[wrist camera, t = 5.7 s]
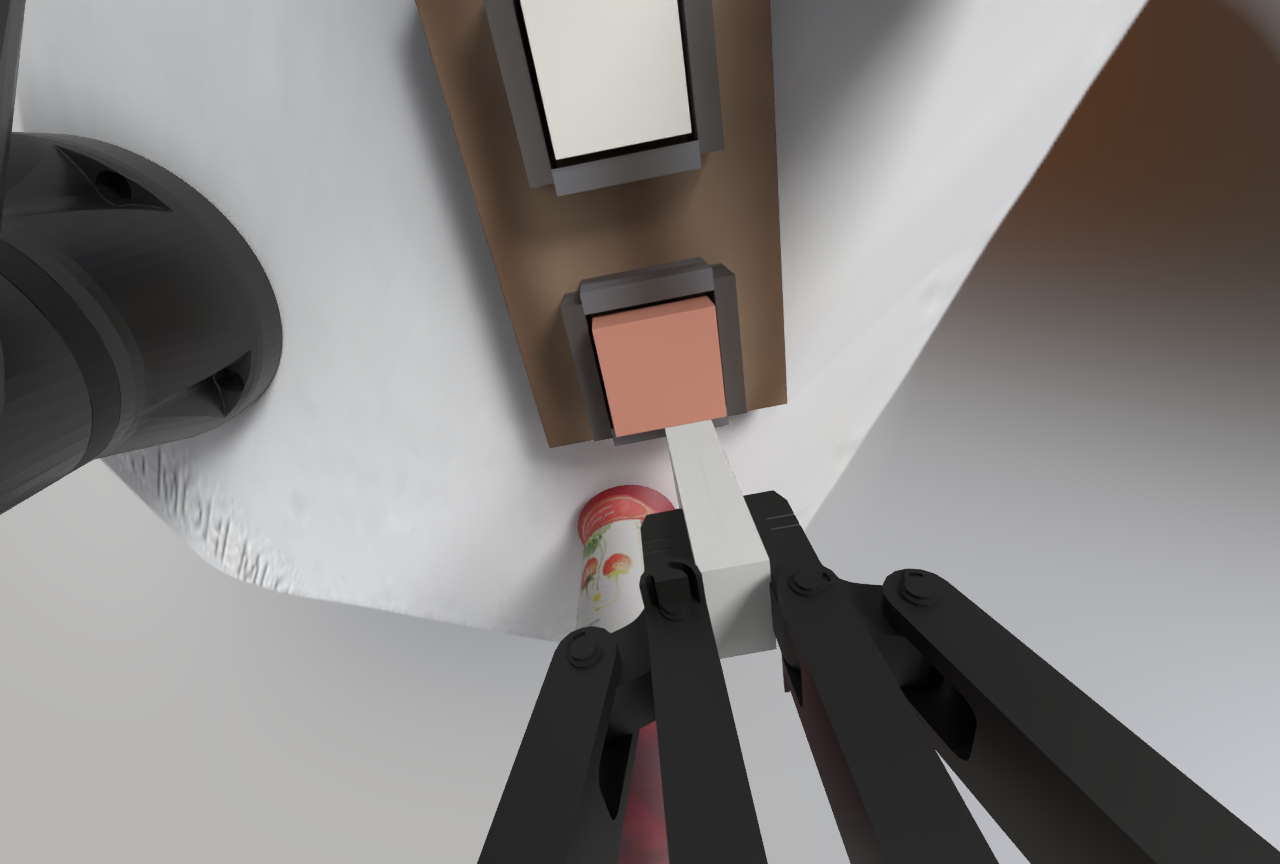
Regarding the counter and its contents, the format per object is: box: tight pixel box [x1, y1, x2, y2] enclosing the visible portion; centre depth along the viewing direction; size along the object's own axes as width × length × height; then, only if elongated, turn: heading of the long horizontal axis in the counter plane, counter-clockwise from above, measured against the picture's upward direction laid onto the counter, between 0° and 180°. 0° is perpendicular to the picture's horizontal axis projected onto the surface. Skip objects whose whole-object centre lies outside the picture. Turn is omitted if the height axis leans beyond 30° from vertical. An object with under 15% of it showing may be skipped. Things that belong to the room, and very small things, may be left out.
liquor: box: [575, 485, 675, 864], centre depth 24 cm, size 7×7×28 cm
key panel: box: [415, 0, 787, 448], centre depth 25 cm, size 14×22×6 cm, turn 10°
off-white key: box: [520, 0, 692, 160], centre depth 20 cm, size 5×5×2 cm
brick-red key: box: [592, 295, 727, 437], centre depth 24 cm, size 5×5×2 cm
